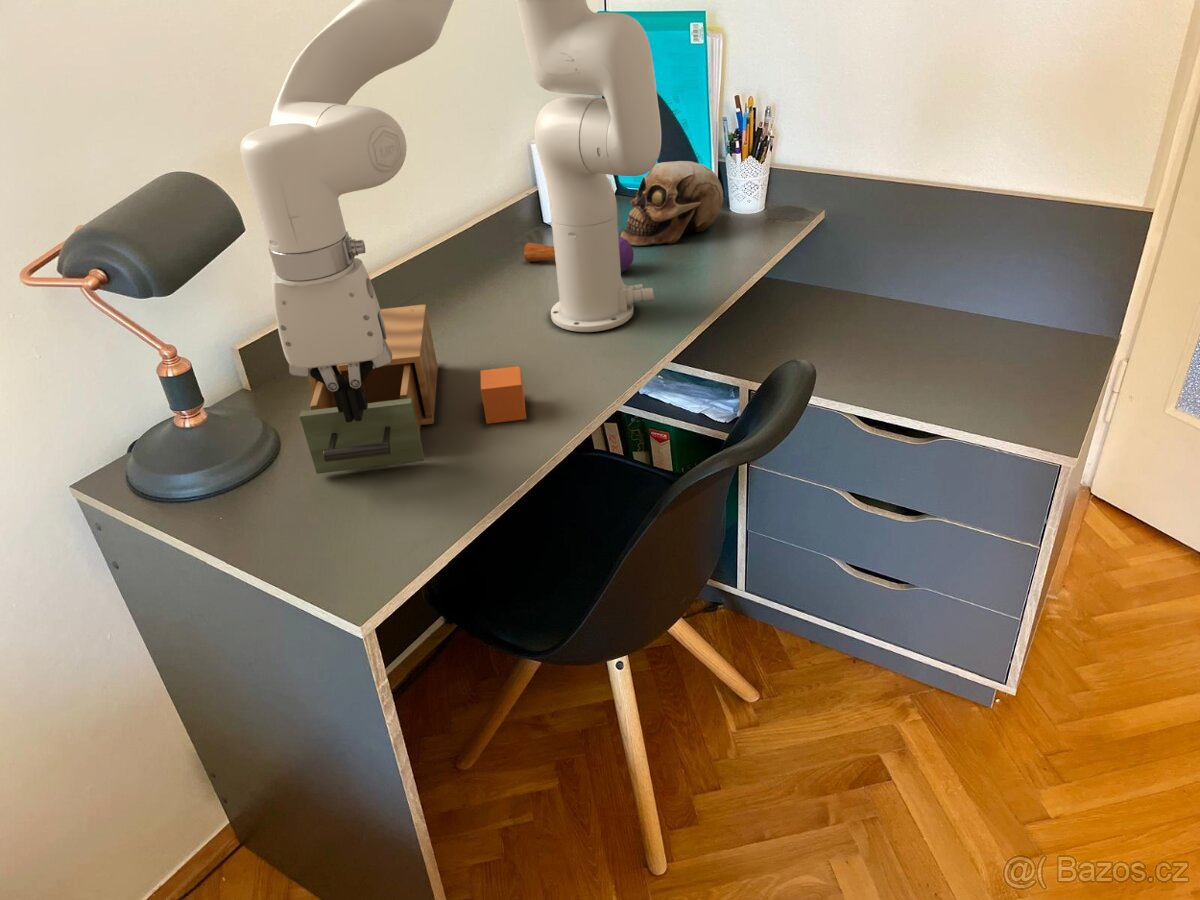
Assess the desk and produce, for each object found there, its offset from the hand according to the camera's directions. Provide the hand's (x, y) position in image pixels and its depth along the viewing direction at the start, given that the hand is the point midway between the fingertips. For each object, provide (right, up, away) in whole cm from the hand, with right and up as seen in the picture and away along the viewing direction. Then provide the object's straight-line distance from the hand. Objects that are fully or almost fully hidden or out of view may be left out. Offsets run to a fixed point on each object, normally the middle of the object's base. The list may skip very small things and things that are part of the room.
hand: (355, 415), depth 99 cm
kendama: (+23, +27, +55) cm, 66 cm away
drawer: (0, -3, +10) cm, 10 cm away
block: (+15, +1, +16) cm, 22 cm away
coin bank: (+40, +36, +66) cm, 85 cm away
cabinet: (-2, +3, +21) cm, 21 cm away
